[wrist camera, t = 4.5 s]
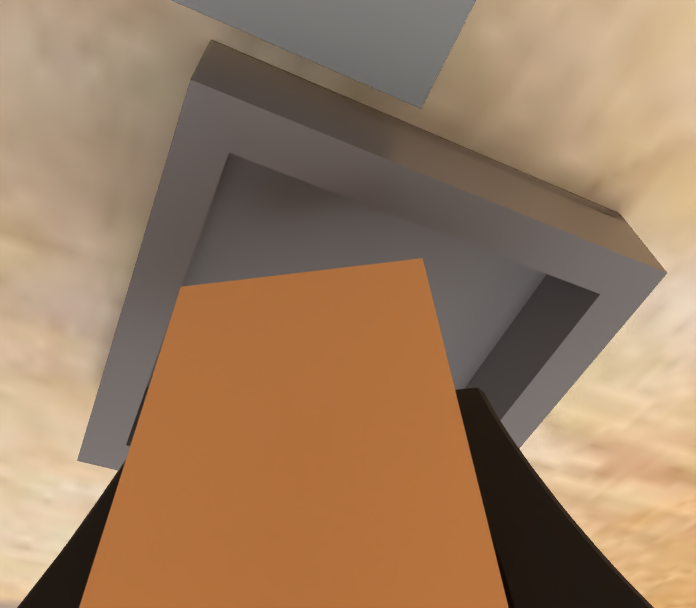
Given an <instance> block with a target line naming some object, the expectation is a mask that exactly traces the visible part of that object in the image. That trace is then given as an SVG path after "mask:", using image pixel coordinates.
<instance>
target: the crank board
mask: <svg viewBox="0 0 696 608" xmlns="http://www.w3.org/2000/svg"><path fill="white" fill-rule="evenodd" d="M172 1H174V2H177V3H179V4H181V5H183V6H186V7H188V8H190V9H193V10H195V11H197V12H200V13H202V14H204V15H206V16H209V17H211V18H213V19H216V20H218V21H220V22H223V23H225V24H227V25H229V26H232V27H234V28H236V29H239V30H241V31H243V32H246V33H248V34H250V35H252V36H255V37H257V38H259V39H262V40H264V41H266V42H269V43H271V44H273V45H275V46H278V47H280V48H282V49H285V50H287V51H289V52H292V53H294V54H296V55H298V56H301V57H303V58H305V59H308V60H310V61H312V62H315V63H317V64H319V65H321V66H324V67H326V68H328V69H331V70H333V71H335V72H338V73H340V74H342V75H344V76H347V77H349V78H351V79H354V80H356V81H358V82H361V83H363V84H365V85H367V86H370V87H372V88H374V89H377V90H379V91H381V92H384V93H386V94H388V95H390V96H393V97H395V98H397V99H400V100H402V101H404V102H407V103H409V104H411V105H413V106H416V107H418V108H420V109H421V108H422V106H423V104H424V102H425V100H426V98H427V96H428V94H429V92H430V90H431V88H432V86H433V84H434V82H435V80H436V78H437V76H438V74H439V72H440V70H441V68H442V66H443V64H444V62H445V60H446V58H447V56H448V54H449V52H450V50H451V48H452V46H453V44H454V43H455V41H456V39H457V37H458V35H459V33H460V31H461V29H462V27H463V25H464V23H465V21H466V19H467V17H468V15H469V13H470V11H471V9H472V7H473V5H474V3H475V1H476V0H172Z"/></svg>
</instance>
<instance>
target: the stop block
mask: <svg viewBox="0 0 696 608" xmlns="http://www.w3.org/2000/svg"><path fill="white" fill-rule="evenodd" d="M79 608H509V607H508V603H507V599H506V595H505V591H504V587H503V583H502V579H501V575H500V571H499V567H498V563H497V559H496V554H495V550H494V546H493V542H492V538H491V534H490V530H489V526H488V522H487V518H486V514H485V510H484V506H483V502H482V498H481V493H480V489H479V485H478V481H477V477H476V473H475V469H474V465H473V461H472V457H471V453H470V449H469V445H468V441H467V436H466V432H465V428H464V424H463V420H462V416H461V412H460V408H459V404H458V400H457V396H456V392H455V388H454V384H453V380H452V375H451V371H450V367H449V363H448V359H447V355H446V351H445V347H444V343H443V339H442V335H441V331H440V327H439V323H438V318H437V314H436V310H435V306H434V302H433V298H432V294H431V290H430V286H429V282H428V278H427V274H426V270H425V266H424V262H423V258H420V259H412V260H403V261H395V262H386V263H378V264H369V265H361V266H352V267H344V268H336V269H327V270H319V271H310V272H302V273H293V274H285V275H276V276H268V277H259V278H251V279H243V280H234V281H226V282H217V283H209V284H200V285H192V286H183V287H181V288H180V291H179V294H178V297H177V300H176V304H175V307H174V310H173V313H172V316H171V319H170V323H169V326H168V329H167V332H166V335H165V338H164V341H163V345H162V348H161V351H160V354H159V357H158V360H157V364H156V367H155V370H154V373H153V376H152V379H151V383H150V386H149V389H148V392H147V395H146V398H145V401H144V405H143V408H142V411H141V414H140V417H139V420H138V424H137V427H136V430H135V433H134V436H133V439H132V442H131V446H130V449H129V452H128V455H127V458H126V461H125V465H124V468H123V471H122V474H121V477H120V480H119V483H118V487H117V490H116V493H115V496H114V499H113V502H112V506H111V509H110V512H109V515H108V518H107V521H106V524H105V528H104V531H103V534H102V537H101V540H100V543H99V547H98V550H97V553H96V556H95V559H94V562H93V565H92V569H91V572H90V575H89V578H88V581H87V584H86V588H85V591H84V594H83V597H82V600H81V603H80V606H79Z"/></svg>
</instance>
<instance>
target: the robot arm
mask: <svg viewBox="0 0 696 608" xmlns="http://www.w3.org/2000/svg"><path fill="white" fill-rule="evenodd" d="M455 392H456V396H457V400H458V404H459V408H460V412H461V416H462V420H463V424H464V428H465V432H466V436H467V441H468V445H469V449H470V453H471V457H472V461H473V465H474V469H475V473H476V477H477V481H478V485H479V489H480V493H481V498H482V502H483V506H484V510H485V514H486V518H487V522H488V526H489V530H490V534H491V538H492V542H493V546H494V550H495V554H496V559H497V563H498V567H499V571H500V575H501V579H502V583H503V587H504V591H505V595H506V599H507V603H508V607H509V608H654V607H653V606H652V605H651V604H650V603H649V602H648V601H647V600H646V599H645V598H644V597H643V596H642V595H641V594H640V593H639V592H638V591H637V590H636V589H635V588H634V587H633V586H632V585H631V584H630V583H629V582H628V581H627V580H626V579H625V578H624V577H623V575H622V574H621V573H620V572H619V571H618V570H617V569H616V568H615V567H614V566H613V565H612V564H611V562H610V561H609V560H608V559H607V558H606V557H605V556H604V555H603V554H602V552H601V551H600V550H599V549H598V548H597V547H596V546H595V545H594V543H593V542H592V541H591V540H590V539H589V538H588V536H587V535H586V534H585V533H584V532H583V531H582V529H581V528H580V527H579V526H578V525H577V524H576V522H575V521H574V520H573V519H572V518H571V516H570V515H569V514H568V513H567V511H566V510H565V509H564V508H563V506H562V505H561V504H560V503H559V502H558V500H557V499H556V498H555V496H554V495H553V494H552V492H551V491H550V490H549V489H548V487H547V486H546V485H545V483H544V482H543V481H542V479H541V478H540V477H539V475H538V474H537V473H536V472H535V470H534V469H533V468H532V466H531V465H530V463H529V462H528V461H527V459H526V458H525V457H524V455H523V454H522V452H521V451H520V449H519V448H518V446H517V445H516V444H515V442H514V441H513V439H512V438H511V436H510V435H509V433H508V432H507V430H506V429H505V427H504V425H503V424H502V422H501V421H500V419H499V418H498V416H497V414H496V413H495V411H494V409H493V407H492V406H491V404H490V402H489V400H488V399H487V397H486V395H485V393H484V392H483V391H482V390H480V389H479V388H478V387H476V388H467V389H458V390H455ZM125 461H126V460H125ZM125 461H124V463H123V464H122V466H121V467H120V469H119V470H118V472H117V473H116V475H115V476H114V478H113V479H112V481H111V482H110V484H109V485H108V486H107V488H106V489H105V491H104V492H103V494H102V495H101V497H100V498H99V500H98V501H97V502H96V504H95V505H94V507H93V508H92V509H91V511H90V512H89V514H88V515H87V516H86V518H85V519H84V521H83V522H82V523H81V525H80V526H79V528H78V529H77V530H76V532H75V533H74V535H73V536H72V537H71V539H70V540H69V542H68V543H67V544H66V546H65V547H64V548H63V550H62V551H61V552H60V554H59V555H58V556H57V558H56V559H55V560H54V561H53V563H52V564H51V565H50V567H49V568H48V569H47V570H46V572H45V573H44V574H43V576H42V577H41V578H40V579H39V581H38V582H37V583H36V584H35V586H34V587H33V588H32V590H31V591H30V592H29V593H28V595H27V596H26V597H25V599H24V600H23V601H22V602H21V604H20V605H19V606H18V607H17V608H79V606H80V603H81V600H82V597H83V594H84V591H85V588H86V584H87V581H88V578H89V575H90V572H91V569H92V565H93V562H94V559H95V556H96V553H97V550H98V547H99V543H100V540H101V537H102V534H103V531H104V528H105V524H106V521H107V518H108V515H109V512H110V509H111V506H112V502H113V499H114V496H115V493H116V490H117V487H118V483H119V480H120V477H121V474H122V471H123V468H124V465H125Z"/></svg>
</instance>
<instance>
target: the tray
mask: <svg viewBox="0 0 696 608" xmlns="http://www.w3.org/2000/svg"><path fill="white" fill-rule="evenodd" d="M420 258H423V262H424V266H425V270H426V274H427V278H428V282H429V286H430V290H431V294H432V298H433V302H434V306H435V310H436V314H437V318H438V323H439V327H440V331H441V335H442V339H443V343H444V347H445V351H446V355H447V359H448V363H449V367H450V371H451V375H452V380H453V384H454V388H455V390H458V389H467V388H476V387H478V388H479V389H480V390H482V391H483V392H484V393H485V395H486V397H487V399H488V400H489V402H490V404H491V406H492V407H493V409H494V411H495V413H496V414H497V416H498V418H499V419H500V421H501V422H502V424H503V425H504V427H505V429H506V430H507V432H508V433H509V435H510V436H511V438H512V439H513V441H514V442H515V444H516V445H517V446H518V448H520V447H521V446H522V445H523V443H524V442H525V441H526V440H527V439H528V438H529V436H530V435H531V434H532V433H533V432H534V430H535V429H536V428H537V427H538V426H539V424H540V423H541V422H542V421H543V420H544V419H545V417H546V416H547V415H548V414H549V413H550V411H551V410H552V409H553V408H554V407H555V406H556V404H557V403H558V402H559V401H560V400H561V398H562V397H563V396H564V395H565V394H566V392H567V391H568V390H569V389H570V388H571V387H572V385H573V384H574V383H575V382H576V381H577V379H578V378H579V377H580V376H581V375H582V374H583V372H584V371H585V370H586V369H587V368H588V366H589V365H590V364H591V363H592V362H593V360H594V359H595V358H596V357H597V356H598V355H599V353H600V352H601V351H602V350H603V349H604V347H605V346H606V345H607V344H608V343H609V342H610V340H611V339H612V338H613V337H614V336H615V334H616V333H617V332H618V331H619V330H620V328H621V327H622V326H623V325H624V324H625V323H626V321H627V320H628V319H629V318H630V317H631V315H632V314H633V313H634V312H635V311H636V310H637V308H638V307H639V306H640V305H641V304H642V302H643V301H644V300H645V299H646V298H647V296H648V295H649V294H650V293H651V292H652V291H653V289H654V288H655V287H656V286H657V285H658V283H659V282H660V281H661V280H662V279H663V278H664V276H665V275H666V274H667V272H666V271H665V270H664V268H663V267H662V266H661V265H660V263H659V262H658V261H657V260H656V258H655V257H654V256H653V255H652V253H651V252H650V251H649V250H648V248H647V247H646V246H645V245H644V243H643V242H642V241H641V240H640V238H639V237H638V236H637V234H636V233H635V232H634V231H633V229H632V228H631V227H630V226H629V224H628V223H627V222H626V221H625V219H624V218H623V217H622V216H621V214H619V213H617V212H615V211H612V210H610V209H607V208H605V207H603V206H600V205H598V204H596V203H593V202H591V201H589V200H586V199H584V198H582V197H579V196H577V195H575V194H572V193H570V192H567V191H565V190H563V189H560V188H558V187H556V186H553V185H551V184H549V183H546V182H544V181H542V180H539V179H537V178H535V177H532V176H530V175H528V174H525V173H523V172H520V171H518V170H516V169H513V168H511V167H509V166H506V165H504V164H502V163H499V162H497V161H495V160H492V159H490V158H488V157H485V156H483V155H481V154H478V153H476V152H473V151H471V150H469V149H466V148H464V147H462V146H459V145H457V144H455V143H452V142H450V141H448V140H445V139H443V138H441V137H438V136H436V135H434V134H431V133H429V132H426V131H424V130H422V129H419V128H417V127H415V126H412V125H410V124H408V123H405V122H403V121H401V120H398V119H396V118H394V117H391V116H389V115H387V114H384V113H382V112H379V111H377V110H375V109H372V108H370V107H368V106H365V105H363V104H361V103H358V102H356V101H354V100H351V99H349V98H347V97H344V96H342V95H339V94H337V93H335V92H332V91H330V90H328V89H325V88H323V87H321V86H318V85H316V84H314V83H311V82H309V81H307V80H304V79H302V78H300V77H297V76H295V75H292V74H290V73H288V72H285V71H283V70H281V69H278V68H276V67H274V66H271V65H269V64H267V63H264V62H262V61H260V60H257V59H255V58H253V57H250V56H248V55H245V54H243V53H241V52H238V51H236V50H234V49H231V48H229V47H227V46H224V45H222V44H220V43H217V42H215V41H213V40H211V41H210V43H209V45H208V47H207V48H206V50H205V52H204V54H203V56H202V58H201V60H200V62H199V64H198V66H197V68H196V70H195V72H194V74H193V76H192V78H191V79H190V83H189V86H188V89H187V93H186V96H185V100H184V103H183V106H182V110H181V113H180V116H179V120H178V123H177V126H176V130H175V133H174V137H173V140H172V143H171V147H170V150H169V153H168V157H167V160H166V163H165V167H164V170H163V174H162V177H161V180H160V184H159V187H158V190H157V194H156V197H155V201H154V204H153V207H152V211H151V214H150V217H149V221H148V224H147V227H146V231H145V234H144V238H143V241H142V244H141V248H140V251H139V254H138V258H137V261H136V264H135V268H134V271H133V275H132V278H131V281H130V285H129V288H128V291H127V295H126V298H125V301H124V305H123V308H122V312H121V315H120V318H119V322H118V325H117V328H116V332H115V335H114V339H113V342H112V345H111V349H110V352H109V355H108V359H107V362H106V365H105V369H104V372H103V376H102V379H101V382H100V386H99V389H98V392H97V396H96V399H95V402H94V406H93V409H92V413H91V416H90V419H89V423H88V426H87V429H86V433H85V436H84V439H83V443H82V446H81V450H80V453H79V456H78V460H77V461H81V462H85V463H89V464H93V465H97V466H102V467H106V468H110V469H114V470H119V469H120V467H121V466H122V464H123V463H124V461H125V460H126V458H127V455H128V452H129V449H130V446H131V442H132V439H133V436H134V433H135V430H136V427H137V424H138V420H139V417H140V414H141V411H142V408H143V405H144V401H145V398H146V395H147V392H148V389H149V386H150V383H151V379H152V376H153V373H154V370H155V367H156V364H157V360H158V357H159V354H160V351H161V348H162V345H163V341H164V338H165V335H166V332H167V329H168V326H169V323H170V319H171V316H172V313H173V310H174V307H175V304H176V300H177V297H178V294H179V291H180V288H181V287H183V286H192V285H200V284H209V283H217V282H226V281H234V280H243V279H251V278H259V277H268V276H276V275H285V274H293V273H302V272H310V271H319V270H327V269H336V268H344V267H352V266H361V265H369V264H378V263H386V262H395V261H403V260H412V259H420Z"/></svg>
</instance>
